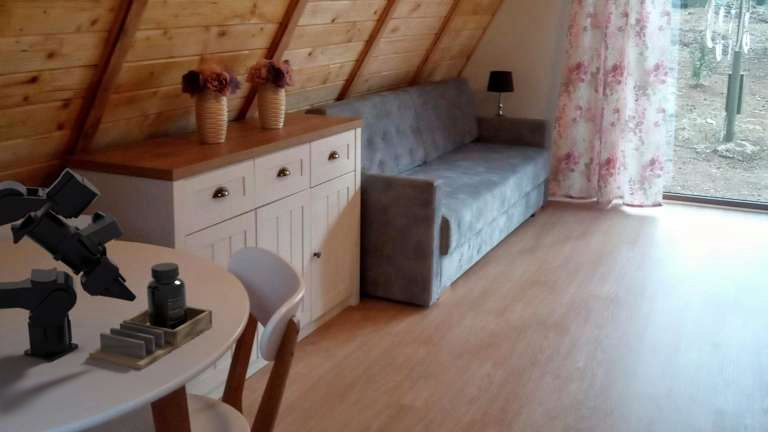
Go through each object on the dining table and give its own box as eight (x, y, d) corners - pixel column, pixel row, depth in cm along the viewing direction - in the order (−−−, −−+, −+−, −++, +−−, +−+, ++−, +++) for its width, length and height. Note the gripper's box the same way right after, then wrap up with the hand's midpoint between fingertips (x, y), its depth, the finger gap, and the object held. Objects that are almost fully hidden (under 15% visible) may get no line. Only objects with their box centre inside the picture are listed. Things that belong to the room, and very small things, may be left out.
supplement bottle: (188, 320, 156) (185, 259, 153) (187, 334, 149) (184, 271, 146) (150, 322, 155) (147, 261, 152) (147, 337, 148) (143, 273, 145)
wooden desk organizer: (142, 369, 138) (141, 348, 137) (89, 356, 142) (87, 336, 141) (212, 326, 155) (211, 307, 154) (163, 317, 160) (162, 298, 159)
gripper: (100, 215, 133) (172, 271, 140) (83, 190, 149) (149, 242, 156) (51, 268, 131) (127, 322, 139) (39, 237, 147) (108, 287, 155)
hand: (129, 290), depth 147 cm, fingers open, 9 cm apart
